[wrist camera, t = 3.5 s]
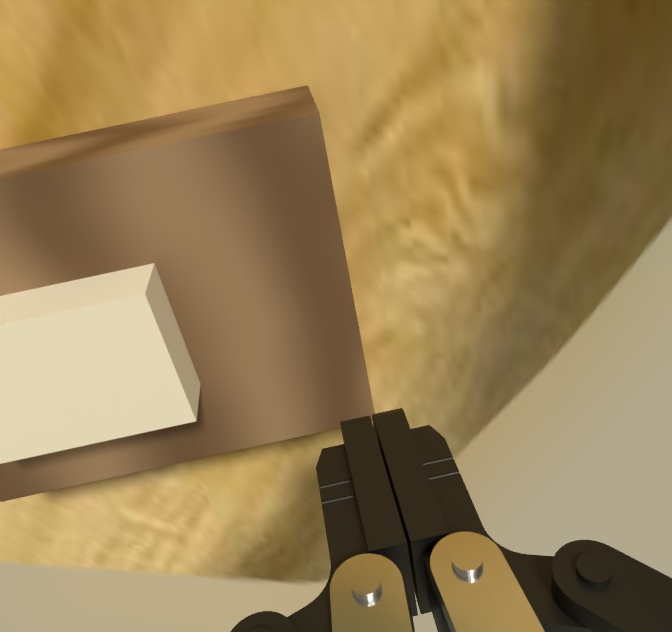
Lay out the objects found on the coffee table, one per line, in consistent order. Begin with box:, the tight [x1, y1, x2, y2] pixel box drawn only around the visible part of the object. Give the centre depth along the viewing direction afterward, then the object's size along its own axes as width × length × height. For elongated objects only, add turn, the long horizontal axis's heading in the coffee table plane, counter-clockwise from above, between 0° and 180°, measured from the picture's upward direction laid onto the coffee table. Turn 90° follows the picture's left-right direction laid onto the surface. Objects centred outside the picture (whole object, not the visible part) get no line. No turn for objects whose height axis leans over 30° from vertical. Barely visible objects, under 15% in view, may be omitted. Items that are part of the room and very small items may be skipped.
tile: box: [0, 263, 201, 464], centre depth 19 cm, size 7×5×2 cm
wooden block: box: [0, 86, 375, 502], centre depth 22 cm, size 15×12×4 cm
